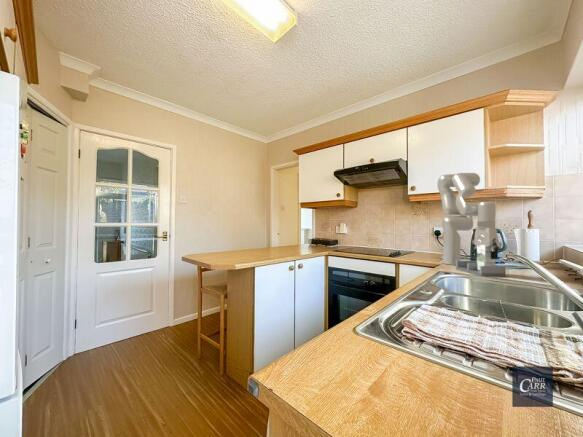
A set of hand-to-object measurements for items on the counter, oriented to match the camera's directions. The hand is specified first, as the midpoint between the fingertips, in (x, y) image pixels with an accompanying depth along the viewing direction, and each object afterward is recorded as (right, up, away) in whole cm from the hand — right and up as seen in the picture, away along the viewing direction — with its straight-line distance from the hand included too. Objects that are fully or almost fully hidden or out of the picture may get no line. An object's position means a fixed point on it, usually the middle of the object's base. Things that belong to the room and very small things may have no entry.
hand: (485, 257), depth 128 cm
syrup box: (0, -7, 0) cm, 8 cm away
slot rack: (0, -9, +4) cm, 10 cm away
